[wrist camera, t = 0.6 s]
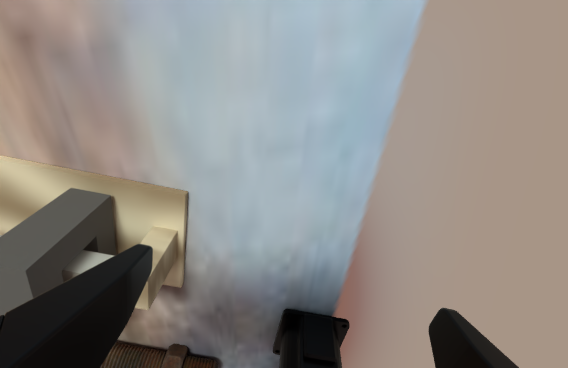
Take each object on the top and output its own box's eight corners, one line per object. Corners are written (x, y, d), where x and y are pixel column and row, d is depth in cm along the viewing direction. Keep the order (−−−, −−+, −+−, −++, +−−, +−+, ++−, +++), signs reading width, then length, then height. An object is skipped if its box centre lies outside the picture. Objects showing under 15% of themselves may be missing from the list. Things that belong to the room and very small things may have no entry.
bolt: (221, 347, 36) (90, 325, 34) (223, 344, 31) (73, 319, 30) (208, 408, 32) (62, 386, 31) (207, 414, 28) (39, 389, 27)
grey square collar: (117, 272, 27) (50, 361, 19) (83, 266, 26) (3, 353, 19) (110, 195, 23) (25, 270, 16) (71, 187, 23) (-34, 260, 16)
